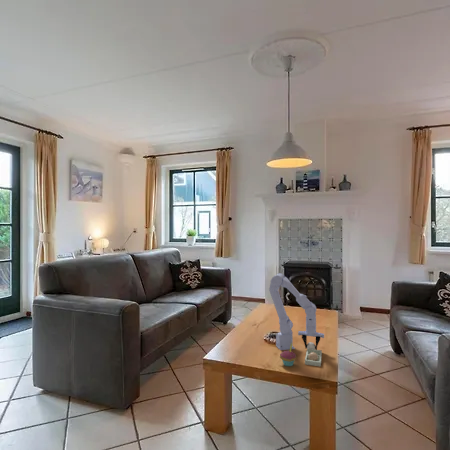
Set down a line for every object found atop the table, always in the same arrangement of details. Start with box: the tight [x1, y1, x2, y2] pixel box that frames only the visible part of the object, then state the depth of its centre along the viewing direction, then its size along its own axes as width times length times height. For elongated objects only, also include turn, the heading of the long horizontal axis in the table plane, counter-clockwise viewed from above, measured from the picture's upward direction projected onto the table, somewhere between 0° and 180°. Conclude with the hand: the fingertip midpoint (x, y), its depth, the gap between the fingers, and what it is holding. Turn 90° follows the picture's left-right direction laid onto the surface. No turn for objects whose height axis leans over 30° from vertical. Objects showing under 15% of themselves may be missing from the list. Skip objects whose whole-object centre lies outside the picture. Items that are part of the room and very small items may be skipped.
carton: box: [304, 349, 323, 367], centre depth 169 cm, size 16×8×2 cm, turn 161°
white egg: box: [306, 341, 316, 350], centre depth 181 cm, size 5×5×5 cm
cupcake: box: [279, 343, 297, 367], centre depth 163 cm, size 9×8×12 cm
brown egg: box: [308, 352, 318, 361], centre depth 165 cm, size 5×5×5 cm
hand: (311, 348), depth 181 cm, fingers open, 5 cm apart
